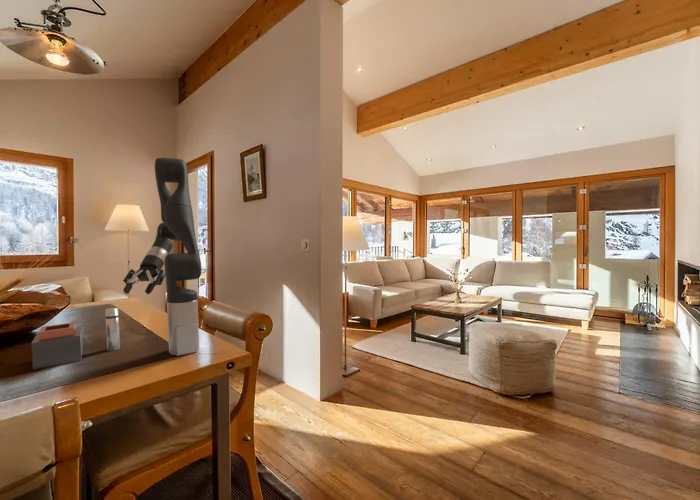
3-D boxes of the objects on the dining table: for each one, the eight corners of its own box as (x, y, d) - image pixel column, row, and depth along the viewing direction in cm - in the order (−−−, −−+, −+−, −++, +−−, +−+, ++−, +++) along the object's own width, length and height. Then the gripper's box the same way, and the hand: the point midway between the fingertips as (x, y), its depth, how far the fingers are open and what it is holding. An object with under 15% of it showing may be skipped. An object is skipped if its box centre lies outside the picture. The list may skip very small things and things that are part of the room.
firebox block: (81, 360, 103) (79, 327, 102) (32, 369, 96) (30, 334, 95) (82, 350, 111) (80, 320, 111) (38, 358, 104) (36, 326, 104)
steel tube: (120, 349, 113) (118, 309, 112) (107, 351, 110) (105, 310, 110) (120, 346, 116) (118, 307, 115) (106, 348, 113) (104, 308, 112)
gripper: (133, 254, 132) (112, 287, 121) (167, 254, 131) (149, 287, 121) (143, 265, 138) (124, 298, 127) (175, 265, 137) (159, 298, 126)
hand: (136, 292), depth 124 cm, fingers open, 8 cm apart
